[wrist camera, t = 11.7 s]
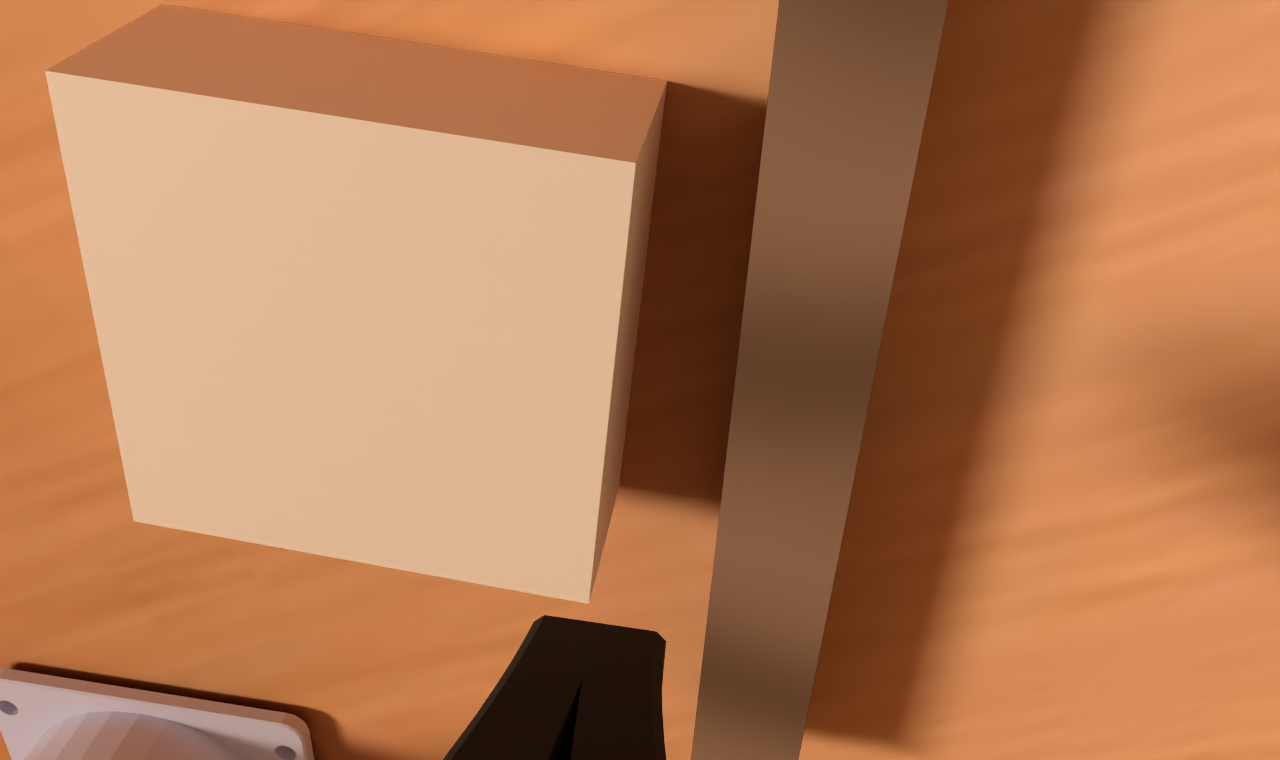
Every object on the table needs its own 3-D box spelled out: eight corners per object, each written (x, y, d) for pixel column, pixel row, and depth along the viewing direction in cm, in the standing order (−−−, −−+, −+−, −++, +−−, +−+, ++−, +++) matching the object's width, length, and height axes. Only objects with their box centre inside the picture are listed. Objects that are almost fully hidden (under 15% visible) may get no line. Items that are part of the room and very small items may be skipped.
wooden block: (621, 475, 22) (588, 603, 19) (224, 406, 23) (134, 520, 20) (669, 73, 18) (636, 163, 15) (171, -2, 18) (44, 70, 15)
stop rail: (790, 723, 25) (785, 823, 23) (698, 709, 25) (685, 807, 23) (1000, -396, 14) (1027, -398, 11) (830, -405, 14) (826, -409, 12)
